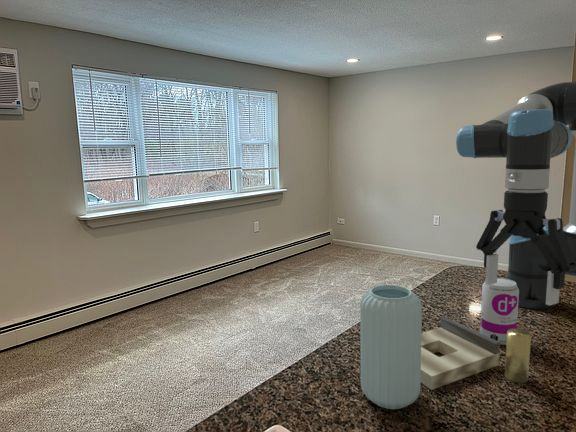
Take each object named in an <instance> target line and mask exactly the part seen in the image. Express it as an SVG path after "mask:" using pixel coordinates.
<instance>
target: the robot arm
mask: <svg viewBox="0 0 576 432" xmlns="http://www.w3.org/2000/svg"><path fill="white" fill-rule="evenodd" d="M568 126H569V127H568ZM573 136H574V138H575V139H576V81H568V82H566V81H565V82H559V83H555V84H550V85H547V86H545V87H543V88H539V89H538V90H535V91H533V92H531V93H529V94H527V95H525V96H524V97H523V96H522V98H521V99H520V100H519V101H518V102H517V103H516V105H514V106H513V107H511V108H509V109H507V110H506V111H504V112H502V113H499V115H496V116H495V117H493V118H491V119H489V120H488V121H485V122H483V123H482V124H471V125H465V126H462V127H461V128H460V129H459V130H458V132H457V134H456V139H455V144H456V151H457V153H458V154H459V155H460V156H461V157H463V158H471V159H472V158H473V159H477V158H478V159H480V158H481V159H482V158H483V159H484V158H485V159H486V158H487V159H488V158H497V159H499V158H501V159H502V158H506V159H505V160H506V161H505V162H506V164H505V177H504V178H505V179H504V180H505V181H504V188H505V189H507V190H505V192H504V194H503V195H504V196H503V208H504V210H505V211H504V210H503V209H495V210H491V212H490V216H489V220H488V223H487V225H486V226H485V228H484V230H483V232H482V234H481V236H480V238H479V240H478V242H477V243H476V246H475V248H476V249H477V250H479V251H481V252H482V253H483V255H484V256H483V268H484V269H485V279H484V282H485V284H487V285H490V284H494V283H497V278H498V271H499V269H498V268H499V267H498V265H499V254H498V253H497V251H498V250H499V249H500V248H501V246H503V245H504V243H506V242H507V241H508V240H509V242H508V244H509V247H508V264H507V265H508V266H507V267H508V269H507V275H506V277H505V279H510V280H513V281H515V282H516V284H517V287H518V289H519V301H518V307H519V308H520V307H521V308H525V309H537V310H542V309H543V310H544V309H545V310H546V309H551V308H554V307H555V306H557V304H559V303H560V302H559V301H560V290H561V289H564V287H565V282H566V281H565V280H566V276H567V275H568V276H571V277H572V276H573V277H576V142H575V146H574V157H573V166H572V167H573V168H572V169H573V171H572V182H571V193H570V194H571V195H570V204H569V205H570V206H569V207H570V208H569V220H568V223H567V224H566V225H564V224H563V223H564V222H563V218H561V217H556V218H547V217H546V211H547V209H548V199H549V193H548V192H547V191H545V190H547V189H549V187H550V171H551V169H550V168H551V159H552V158H555V157H557V156H560V155H562V154H563V153H565V152H566V151H567V150H568V149H569V148H570V146H571V144H572V140H573ZM503 221H504V224H505V225H504V226H503V227H502V228H501V229H500V231H499V233H498V234H497V235H496V233H497V232H498V230H499V228H500V227H501V225H502V222H503ZM563 225H564V226H563ZM495 235H496V236H495Z"/></svg>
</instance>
